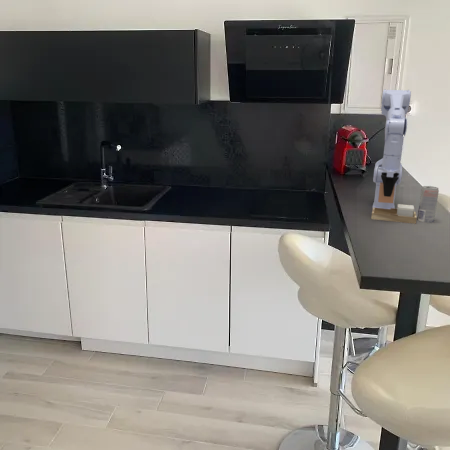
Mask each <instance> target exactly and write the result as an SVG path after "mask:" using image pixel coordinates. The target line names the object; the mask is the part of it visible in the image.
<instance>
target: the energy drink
mask: <svg viewBox="0 0 450 450" xmlns="http://www.w3.org/2000/svg"><path fill="white" fill-rule="evenodd" d="M439 192H440V191H439V187H436V186H431V185H424V186H422V187H421V190H420V197H419V203H418V211H417V216H416V217H417V219H416V221H418V222H421V223H427V224H428V223H429V224H430V223H431V224H432V223H434V222H435V217H436V210H437V205H438V199H439Z"/></svg>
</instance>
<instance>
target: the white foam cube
mask: <svg viewBox="0 0 450 450" xmlns="http://www.w3.org/2000/svg"><path fill="white" fill-rule="evenodd" d="M414 206H415V205H413V204H412V205H411V204H402V203H397V207H396V209H397V214H398V216H407V217H413V212H415V207H414Z"/></svg>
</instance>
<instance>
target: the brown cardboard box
mask: <svg viewBox="0 0 450 450" xmlns="http://www.w3.org/2000/svg"><path fill="white" fill-rule="evenodd" d="M394 190H395V185H394V188H393V192H392V195H391V197H387V196H384V188H383V183H381V182H380V189H379V199H378V202H384V203H393V199H394Z"/></svg>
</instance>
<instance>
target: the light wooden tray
mask: <svg viewBox="0 0 450 450" xmlns="http://www.w3.org/2000/svg"><path fill="white" fill-rule="evenodd" d="M417 217H418V216H417V212H416V211H414V212H413V217H407V216H398V214H397V208H396V207H395V208H391V209H384V208H372V211H371V220H375V221H376V220H377V221H387V222H396V223H404V224H414V225H416V224H417Z"/></svg>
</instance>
